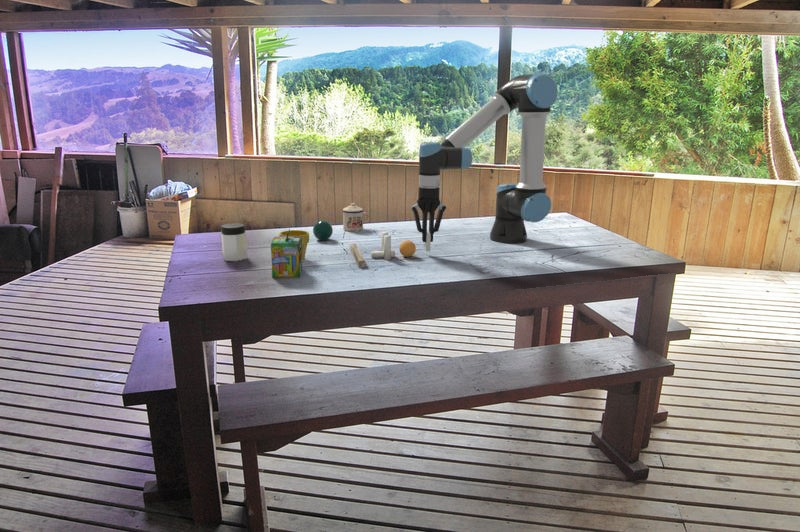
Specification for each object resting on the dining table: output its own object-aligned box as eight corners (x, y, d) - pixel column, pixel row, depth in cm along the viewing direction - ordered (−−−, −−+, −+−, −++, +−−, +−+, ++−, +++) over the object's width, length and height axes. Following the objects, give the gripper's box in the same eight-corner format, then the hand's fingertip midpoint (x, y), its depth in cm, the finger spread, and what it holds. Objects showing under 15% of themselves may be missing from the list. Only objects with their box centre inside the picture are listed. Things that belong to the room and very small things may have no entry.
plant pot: (306, 254, 209) (305, 228, 206) (312, 262, 200) (312, 234, 197) (278, 257, 205) (276, 230, 203) (283, 264, 196) (282, 237, 193)
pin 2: (389, 257, 206) (390, 235, 204) (391, 259, 204) (391, 236, 202) (383, 258, 206) (383, 235, 203) (384, 259, 203) (384, 236, 201)
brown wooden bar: (355, 249, 217) (355, 243, 216) (364, 267, 194) (364, 260, 193) (350, 250, 216) (350, 243, 215) (359, 267, 194) (359, 260, 193)
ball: (397, 239, 208) (398, 254, 211) (401, 244, 203) (401, 260, 205) (413, 237, 210) (413, 252, 212) (417, 242, 204) (417, 258, 207)
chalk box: (275, 269, 190) (273, 226, 186) (303, 269, 191) (301, 226, 187) (271, 278, 181) (268, 232, 177) (300, 277, 182) (298, 232, 178)
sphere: (331, 242, 227) (331, 223, 225) (311, 242, 228) (311, 222, 225) (334, 237, 235) (333, 218, 233) (314, 237, 235) (314, 218, 233)
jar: (249, 260, 201) (247, 226, 198) (225, 262, 198) (223, 228, 194) (244, 254, 209) (242, 222, 205) (221, 256, 205) (218, 223, 202)
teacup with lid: (346, 232, 245) (345, 205, 242) (340, 228, 253) (340, 202, 250) (372, 230, 249) (372, 204, 246) (366, 226, 258) (365, 200, 254)
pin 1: (387, 254, 211) (387, 232, 209) (388, 256, 209) (388, 233, 206) (380, 254, 210) (381, 232, 208) (382, 256, 208) (382, 233, 206)
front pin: (393, 249, 208) (371, 250, 207) (395, 251, 206) (372, 252, 204) (393, 255, 209) (370, 256, 207) (395, 258, 207) (371, 259, 205)
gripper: (443, 184, 208) (441, 247, 215) (409, 185, 205) (407, 248, 212) (449, 187, 201) (447, 252, 208) (413, 188, 198) (412, 253, 205)
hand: (427, 250), depth 210 cm, fingers closed
